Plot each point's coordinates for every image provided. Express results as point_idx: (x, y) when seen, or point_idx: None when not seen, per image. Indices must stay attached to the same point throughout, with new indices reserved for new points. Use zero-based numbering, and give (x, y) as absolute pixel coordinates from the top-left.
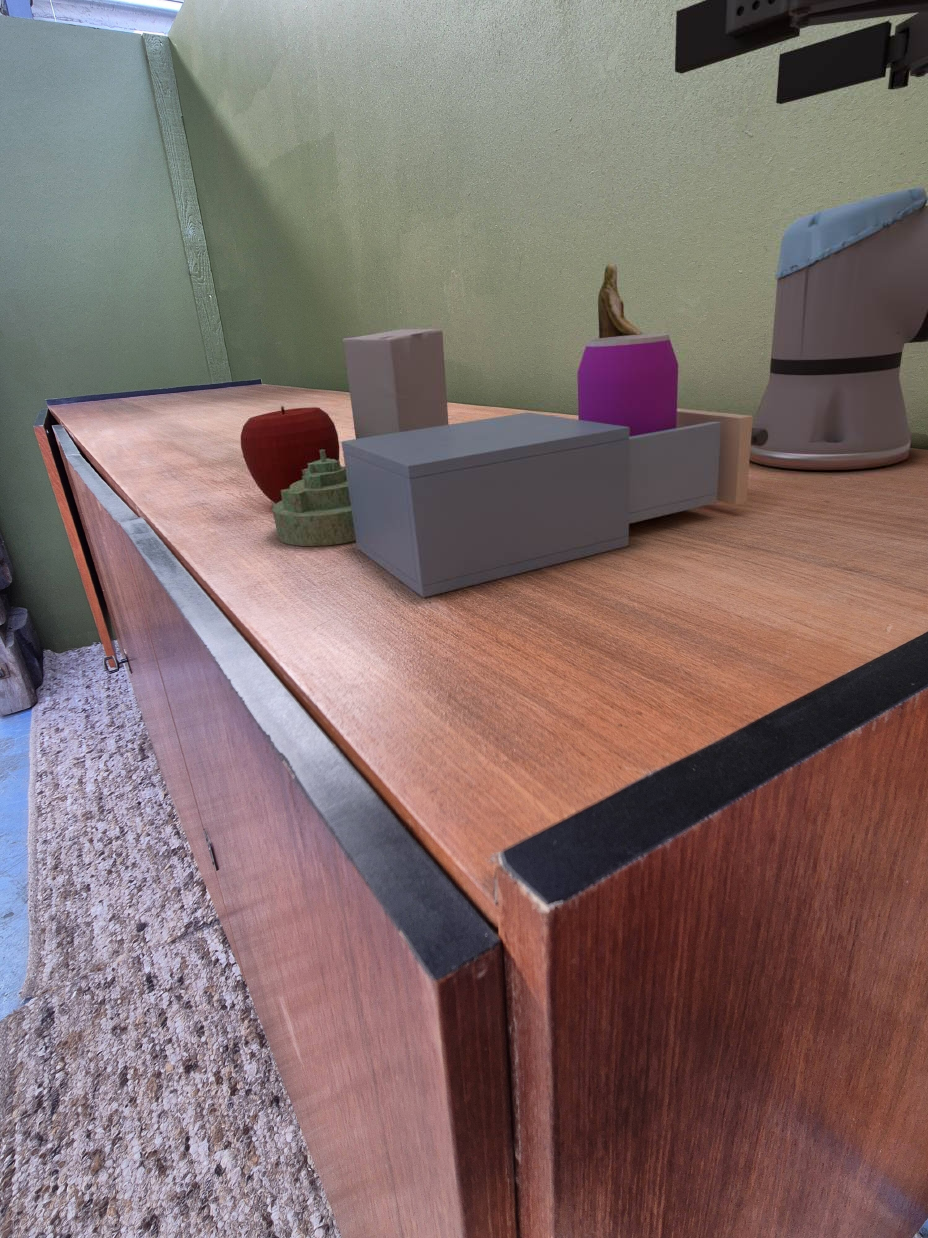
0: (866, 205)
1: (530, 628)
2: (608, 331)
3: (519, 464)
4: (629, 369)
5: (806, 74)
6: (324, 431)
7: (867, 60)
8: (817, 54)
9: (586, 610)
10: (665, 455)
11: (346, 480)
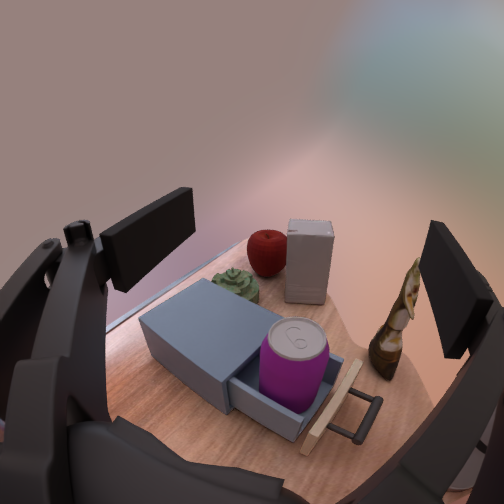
0: None
1: (124, 393)
2: (400, 297)
3: (171, 350)
4: (262, 356)
5: (432, 266)
6: (269, 253)
7: (451, 321)
8: (440, 255)
9: (140, 409)
10: (259, 406)
11: (235, 285)
